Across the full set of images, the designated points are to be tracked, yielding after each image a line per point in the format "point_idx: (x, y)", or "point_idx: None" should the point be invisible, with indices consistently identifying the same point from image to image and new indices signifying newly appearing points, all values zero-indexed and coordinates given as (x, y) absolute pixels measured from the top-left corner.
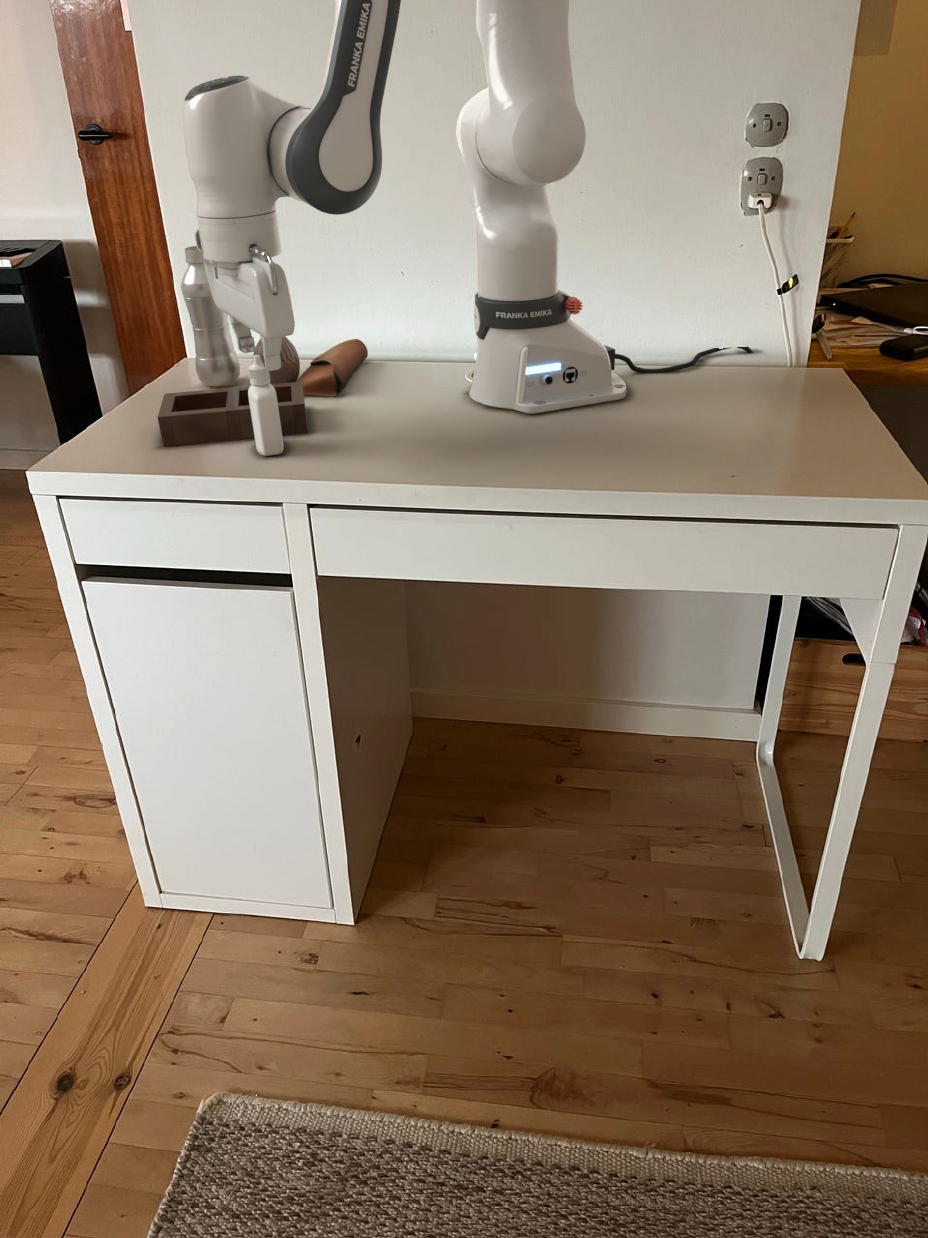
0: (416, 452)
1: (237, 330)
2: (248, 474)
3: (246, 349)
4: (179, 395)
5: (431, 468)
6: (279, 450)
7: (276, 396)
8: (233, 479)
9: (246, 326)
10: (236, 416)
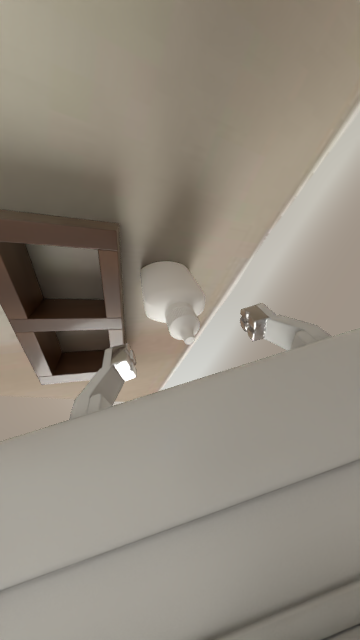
0: (266, 42)
1: (115, 393)
2: (216, 295)
3: (133, 356)
4: (51, 372)
5: (333, 48)
6: (186, 267)
7: (186, 286)
8: (220, 305)
9: (102, 387)
10: (122, 315)
